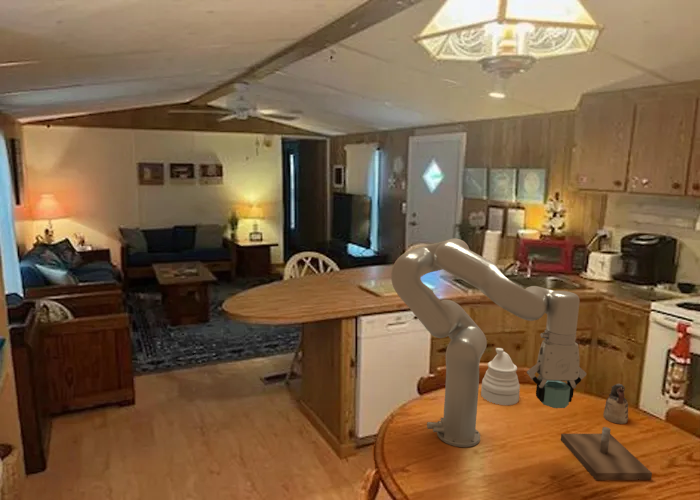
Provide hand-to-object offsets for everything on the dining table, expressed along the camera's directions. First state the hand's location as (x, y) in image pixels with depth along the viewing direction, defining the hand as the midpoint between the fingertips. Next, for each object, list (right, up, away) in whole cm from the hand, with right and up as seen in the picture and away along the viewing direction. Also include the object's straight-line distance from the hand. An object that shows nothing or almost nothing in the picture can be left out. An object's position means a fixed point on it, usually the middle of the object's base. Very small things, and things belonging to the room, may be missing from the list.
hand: (553, 399), depth 142 cm
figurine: (+31, -15, +28) cm, 44 cm away
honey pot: (-3, -11, +41) cm, 43 cm away
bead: (0, -1, 0) cm, 1 cm away
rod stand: (+15, -18, +4) cm, 24 cm away
